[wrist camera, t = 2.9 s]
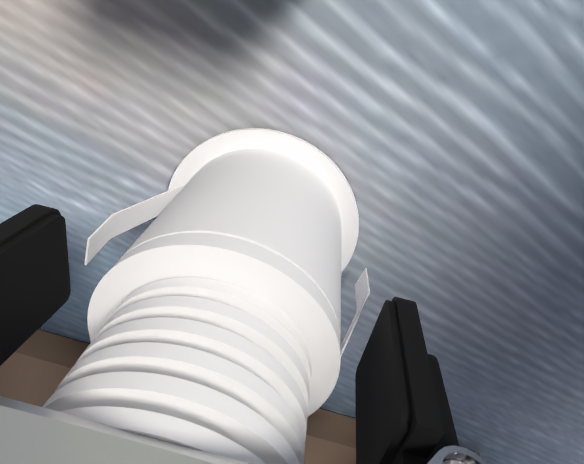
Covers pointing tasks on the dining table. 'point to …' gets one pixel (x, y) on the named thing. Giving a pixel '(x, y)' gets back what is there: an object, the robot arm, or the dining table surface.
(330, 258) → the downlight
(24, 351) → the walnut board
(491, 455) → the dining table surface
